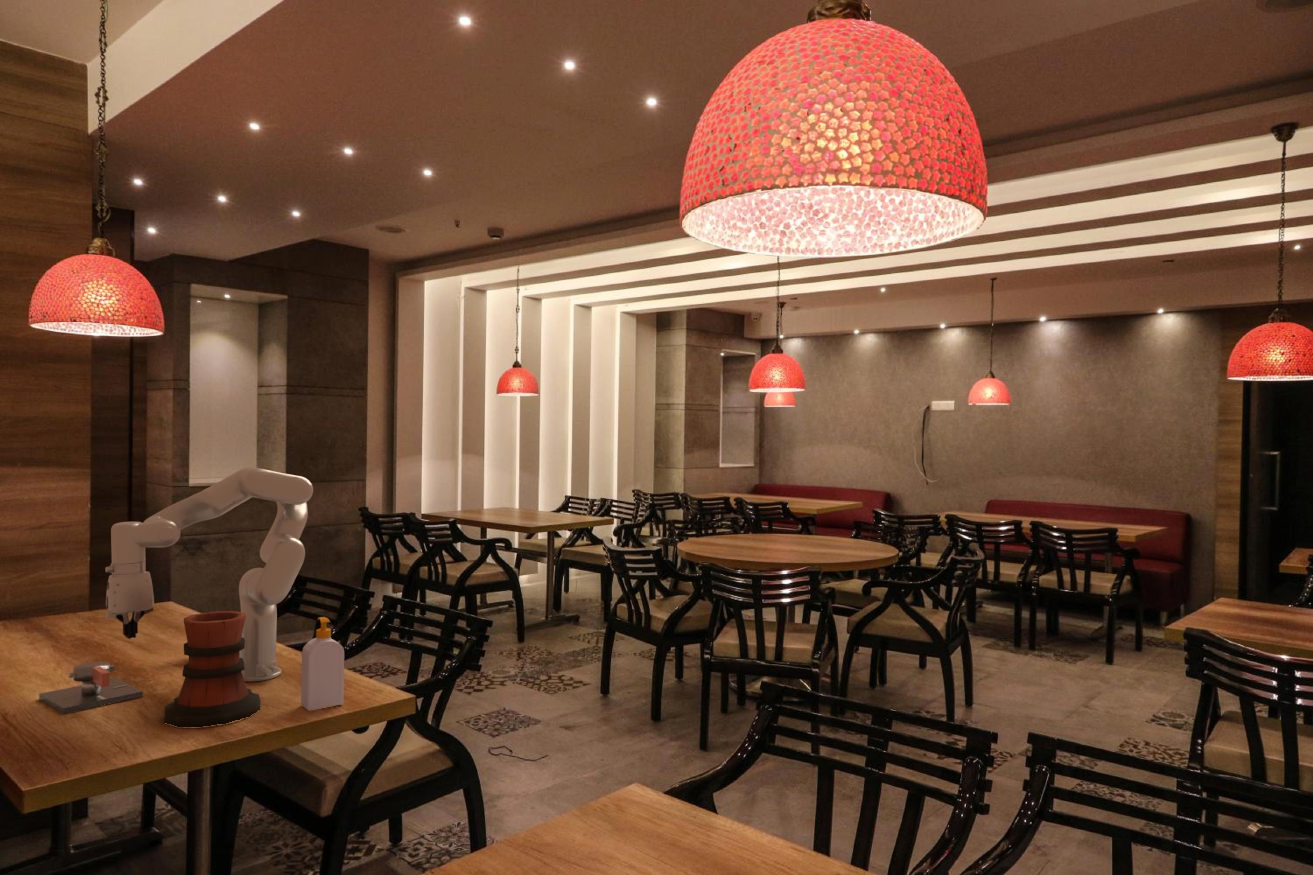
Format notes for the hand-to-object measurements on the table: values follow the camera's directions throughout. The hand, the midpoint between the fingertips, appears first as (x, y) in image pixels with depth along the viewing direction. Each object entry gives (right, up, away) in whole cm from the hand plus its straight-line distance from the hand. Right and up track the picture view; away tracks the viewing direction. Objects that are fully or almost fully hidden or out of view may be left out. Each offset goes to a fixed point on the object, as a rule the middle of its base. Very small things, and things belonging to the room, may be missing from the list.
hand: (130, 637), depth 214 cm
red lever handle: (-8, -11, -2) cm, 14 cm away
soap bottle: (+51, -18, -1) cm, 54 cm away
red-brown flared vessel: (+27, -17, -8) cm, 33 cm away
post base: (-11, -16, +1) cm, 20 cm away
